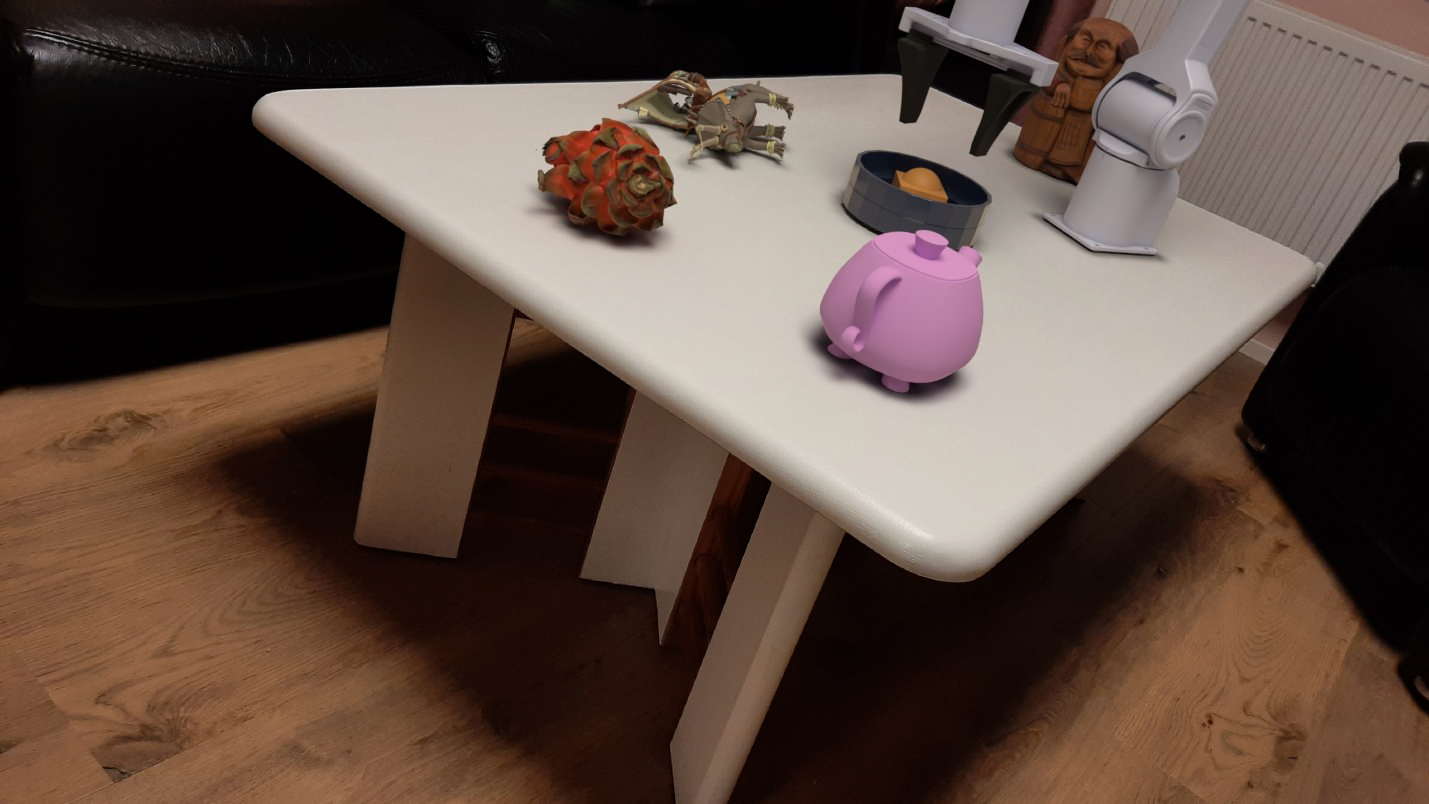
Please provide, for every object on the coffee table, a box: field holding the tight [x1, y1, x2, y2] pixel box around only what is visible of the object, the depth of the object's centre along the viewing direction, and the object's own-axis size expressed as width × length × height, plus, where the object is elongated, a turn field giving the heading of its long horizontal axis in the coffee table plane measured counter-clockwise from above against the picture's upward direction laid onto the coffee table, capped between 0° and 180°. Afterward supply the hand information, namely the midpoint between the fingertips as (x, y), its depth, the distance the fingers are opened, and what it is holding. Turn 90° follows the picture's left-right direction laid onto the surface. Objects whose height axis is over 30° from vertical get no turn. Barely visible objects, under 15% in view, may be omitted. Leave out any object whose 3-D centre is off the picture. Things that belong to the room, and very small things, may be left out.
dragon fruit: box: [535, 117, 678, 237], centre depth 77 cm, size 8×8×12 cm
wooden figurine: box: [1013, 16, 1140, 185], centre depth 123 cm, size 12×6×18 cm, turn 55°
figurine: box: [617, 69, 795, 160], centre depth 102 cm, size 20×6×17 cm
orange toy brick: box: [891, 168, 948, 203], centre depth 94 cm, size 8×4×5 cm, turn 174°
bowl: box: [841, 149, 993, 251], centre depth 96 cm, size 13×13×4 cm
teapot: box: [819, 230, 984, 393], centre depth 69 cm, size 10×15×9 cm
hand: (941, 138), depth 93 cm, fingers open, 7 cm apart
